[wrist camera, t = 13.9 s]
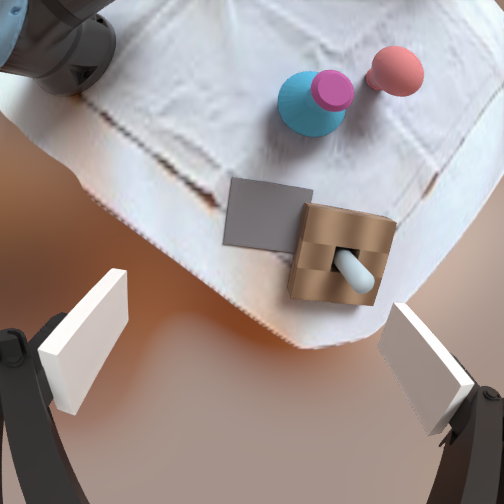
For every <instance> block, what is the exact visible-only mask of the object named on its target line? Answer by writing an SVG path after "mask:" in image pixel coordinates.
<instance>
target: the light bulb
mask: <svg viewBox="0 0 504 504" xmlns="http://www.w3.org/2000/svg"><path fill="white" fill-rule="evenodd" d="M423 79H424V71H423V67H422V64H421V62H420V61H419V59H418V58H417V57H416V56H415V55H414V54H413V53H412V52H411V51H409V50H407V49H405V48H403V47H398V46H390V47H386V48H384V49H382V50H380V51H379V52H378V53H377V54H376V55H375V57H374V59H373V62H372V68H371V69H370V70H369V71H368V72H367V74H366V81H367V84H368V85H369V86H370V87H371V88H372V89H374V90H377V91H380V90H384V91H385V92H387V93H389V94H391V95H394V96H400V97H404V96H409V95H412V94H413V93H415V92H416V91H417V90H418V89H419V88H420V87H421V85H422V83H423Z"/></svg>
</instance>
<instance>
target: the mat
mask: <svg viewBox="0 0 504 504" xmlns="http://www.w3.org/2000/svg"><path fill="white" fill-rule="evenodd" d="M312 195H313V190H311V189H305V188H299V187H293V186H287V185H281V184H275V183H268V182H261V181H254V180H247V179H240V178H233V177H232V183H231V190H230V197H229V205H228V212H227V220H226V228H225V236H224V244H231V245H238V246H246V247H253V248H261V249H268V250H276V251H283V252H291V253H295V250H296V245H297V240H298V234H299V229H300V224H301V219H302V213H303V208H304V202H306V203H311V200H312Z"/></svg>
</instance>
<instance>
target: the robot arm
mask: <svg viewBox="0 0 504 504" xmlns="http://www.w3.org/2000/svg"><path fill="white" fill-rule="evenodd" d="M114 1H115V0H0V72H4V73H10V74H15V75H20V76H25V77H30V78H33V79H34V80H35V81H36V82H37V83H38V84H39V85H40V86H41V87H42V88H43V89H44V90H45V91H47V92H48V93H51V94H54V95H59V96H71V95H75V94H78V93H80V92H82V91H84V90H86V89H87V88H89V87H90V86H91V85H93V84H94V83H95V82H96V81H97V80H98V79H99V78H100V77H101V76H102V74H103V73H104V72H105V70H106V69H107V67H108V66H109V64H110V62H111V60H112V57H113V54H114V51H115V45H116V36H115V31H114V29H113V27H112V25H111V24H110V22H109V21H107V20H106V19H105V18H104V17H103V16H101V15H99V14H97V12H98V11H100V10H101V9H103V8H104V7H106V6H107V5H109V4H110V3H112V2H114ZM127 322H128V303H127V271H126V270H120V269H114V268H112V269H111V270H110V271H109V272H108V273H107V274H106V275H105V276H104V277H103V278H102V279H101V280H100V281H99V282H98V283H97V284H96V285H95V286H94V287H93V289H91V290H90V291H89V292H88V294H87V295H86V296H85V297H84V298H83V299H82V300H81V301H80V302H79V303H78V304H77V305H76V306H75V307H74V309H73V310H72V311H71V312H70V313H69V314H67V313H63V312H61V313H59V314H57V315H55V316H53V317H52V318H51V319H50V320H49V321H48V322H47V323H46V324H45V326H43V327H42V328H41V329H40V331H39V332H37V333H36V335H35V336H34V337H33V338H32V339H31V340H30V341H29V342H28V343H27V339H26V336H25V334H24V333H23V332H22V331H21V330H18V329H14V328H10V329H4V330H1V331H0V504H3V497H2V439H3V438H2V437H3V425H4V421H5V426H6V432H7V437H8V441H9V446H10V450H11V454H12V458H13V462H14V466H15V469H16V473H17V477H18V480H19V483H20V486H21V489H22V492H23V495H24V498H25V501H26V504H90V503H89V502H88V500H87V498H86V496H85V494H84V492H83V490H82V488H81V486H80V484H79V482H78V480H77V477H76V475H75V473H74V471H73V469H72V466H71V464H70V462H69V459H68V457H67V455H66V452H65V450H64V447H63V444H62V442H61V439H60V437H59V434H58V431H57V429H56V425H55V423H54V420H53V417H52V414H51V411H50V408H49V404H50V403H51V401H52V400H53V399H54V402H55V404H56V407H57V409H58V410H61V411H64V412H67V413H69V414H72V415H76V413H77V411H78V409H79V407H80V405H81V404H82V402H83V400H84V398H85V396H86V394H87V392H88V390H89V389H90V387H91V385H92V383H93V381H94V379H95V378H96V376H97V374H98V372H99V370H100V369H101V367H102V365H103V363H104V362H105V360H106V358H107V356H108V355H109V353H110V351H111V349H112V348H113V346H114V344H115V342H116V341H117V339H118V337H119V336H120V334H121V332H122V331H123V329H124V327H125V326H126V324H127ZM377 348H378V349H379V351H380V353H381V354H382V356H383V358H384V359H385V361H386V363H387V364H388V366H389V368H390V369H391V371H392V373H393V375H394V376H395V378H396V380H397V382H398V383H399V385H400V386H401V388H402V390H403V392H404V394H405V396H406V397H407V399H408V401H409V403H410V404H411V406H412V408H413V410H414V412H415V413H416V415H417V417H418V419H419V420H420V422H421V424H422V426H423V428H424V430H425V432H426V434H427V435H428V436H430V435H434V434H439V433H441V432H442V431H443V430H444V428H445V427H446V426H447V424H448V423H449V424H450V426H451V427H452V429H451V430H450V431H449V433H448V434H447V435H446V437H445V438H444V439H443V440H442V442H441V443H440V444H439V447H441V446H442V444H444V443H445V447H444V450H443V454H442V458H441V462H440V465H439V468H438V471H437V475H436V478H435V481H434V484H433V487H432V490H431V492H430V495H429V498H428V501H427V503H426V504H504V398H501V396H500V394H499V393H498V392H497V391H496V390H495V389H493V388H491V387H488V386H481V387H480V386H479V385H478V384H477V382H476V381H475V380H474V379H473V377H471V375H470V374H469V373H468V371H467V370H465V368H464V367H463V365H461V364H460V362H459V361H458V359H457V358H456V357H455V356H454V355H452V354H451V353H450V352H448V351H447V350H446V348H445V347H444V346H443V345H442V344H441V343H440V342H439V340H438V339H437V338H436V337H435V336H434V335H433V333H432V332H431V331H430V330H429V329H428V328H427V327H426V326H425V324H424V323H423V322H422V321H421V320H420V319H419V318H418V317H417V316H416V314H415V313H414V312H413V311H412V310H411V309H410V308H409V307H408V306H407V305H406V304H405V303H394V302H393V305H392V308H391V311H390V314H389V317H388V319H387V322H386V325H385V327H384V330H383V333H382V335H381V338H380V340H379V343H378V345H377Z"/></svg>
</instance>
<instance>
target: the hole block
mask: <svg viewBox="0 0 504 504" xmlns="http://www.w3.org/2000/svg"><path fill="white" fill-rule="evenodd" d="M396 224H397V223H396V222H394V221H393V220H391V219H389V218H387V217H384V216H379V215H374V214H369V213H364V212H359V211H353V210H348V209H343V208H337V207H332V206H326V205H320V204H314V203H306V202H304V208H303V213H302V219H301V224H300V229H299V234H298V240H297V245H296V250H295V253H294V257H293V262H292V267H291V272H290V277H289V281H288V286H287V288H288V291H289V294H290V298H292V299H302V300H312V301H322V302H332V303H343V304H355V305H367V306H373V305H374V302H375V299H376V296H377V293H378V289H379V286H380V283H381V280H382V276H383V273H384V270H385V266H386V263H387V259H388V255H389V252H390V248H391V244H392V240H393V236H394V232H395V228H396ZM336 246H339V247H345V248H350V252H351V253H352V254H353V255H354V256H355V258H356V259H357V260H358V261H359V262H360V263H361V264H362V265H363V266H364V267H365V268H366V269H367V270H368V271H369V272H370V273H371V274H372V275H373V277H374V286H373V288H372V289H371V290H370V291H369V292H368V293H365V294H358V293H356V292H355V291H354V290H353V288H352V287H351V286H350V284H349V283H348V281H347V280H346V279H345V277H344V276H343V275H342V273H341V272H340V271H339V269H338V268H337V267H336V265H335V264H334V263H332V261H333V256H334V252H335V248H336Z"/></svg>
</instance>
